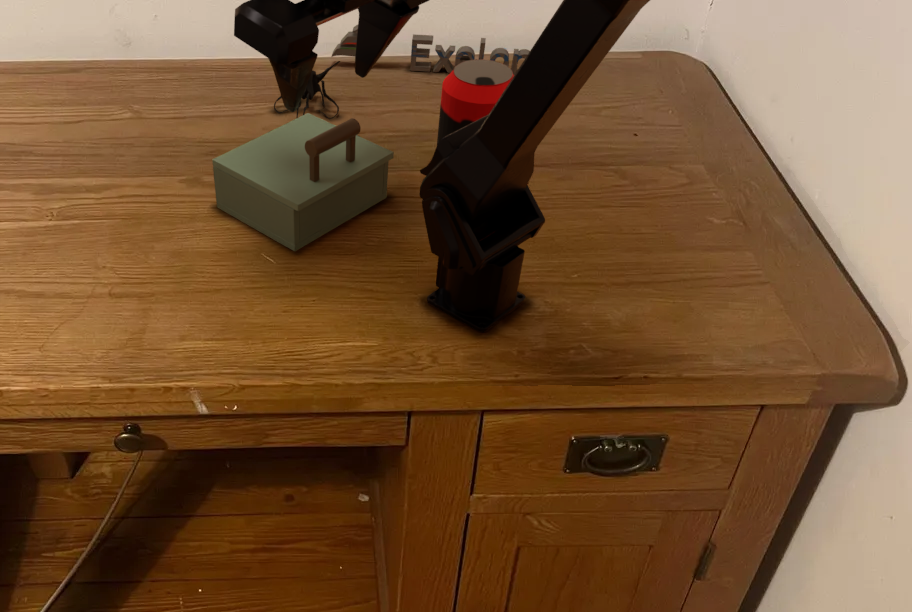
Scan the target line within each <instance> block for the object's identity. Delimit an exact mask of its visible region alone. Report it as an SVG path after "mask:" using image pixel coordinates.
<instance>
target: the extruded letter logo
mask: <svg viewBox="0 0 912 612" xmlns="http://www.w3.org/2000/svg"><path fill="white" fill-rule="evenodd" d="M401 31H402V29H401V30H400V32H401ZM357 32H358V24H356V25H355V26H353V27H352V31H348V32H347V33H346V34H345V35H344V36H343V37H342V38H341V40H340V43H338V44H337V45H336V46H335V48H334V49H333V51H332V53H331V56H330V57H331V58H333V57H337V56H338V57H339V56H342V57H343V56H344V57H354V58H355V53H356V43H357ZM486 41H487V38H486V37H481V38H480V44H479V51H478V60H480V59H481V60H485V59H484V58H485V51H486V50H485V49H486ZM433 43H434V35H433V34H431V35H430V34H428V35H426V34H414V33H413V34H412V38H411V51H410V67H409V71H412V72H428V73H430V72H431V68H432V62H431V61H417V59H419V58H421V59H429V58H430V53H431V48H424V47H418V45H427V46H432V45H433ZM434 51H435V53H436V54H437V56H438V57H439V59H438V61H436V62H435V64H434V65H433V69H432V72H433V73H439V72H440V71H441V69H442V68H443V67H444V69H445V70H446V72H447V73H448V74H450V73H451V72H452V71H453V70H454V68H455V67H456V66H457V65H458V64H460V63H462V62H465V61H469V60H476V53H475V50H474V49H473V48H472V47H471V46H469V45H463V46H460V47H459V48H458V49H457V50H456V45H449V47H448V48H447V49H446V50H445V49H444V47H443V45H442V44H435V49H434ZM530 51H531V50H529V49H527V48H522V49H519V48H513V54H512V63H511V66H510V53H509V51H508V49H506V48H504V47H497V48H494V49H493V50H492V51H491V53H490V55H489V60H492V61H496V60H497V59H498V58H502V59H503V63H502V64H504V65H506V66H508V67H509V66H510V67H509V68H510V69H511V70H512V72H513V75H515V73H516V72H517V70H518V64H519V61H520V60H522V59H524V60H525V58H526V57H527V55H528V54H529V52H530ZM454 53H455V59H454V65H453V63H452V62H451V60H450V58H451V57H452V55H454Z"/></svg>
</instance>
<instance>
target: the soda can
mask: <svg viewBox="0 0 912 612" xmlns="http://www.w3.org/2000/svg"><path fill="white" fill-rule="evenodd" d="M513 77H514V75H513V72H512V70H511V67H508V66H506V65H504V64H503V63H502V62H499V61H496V60H495V61H492V60H490V59H483V60H481V59H480V60H479V59H475V60H469V61H465V62H462V63H460V64H458V65H457V66H456V67H455V66H454V69H453V71H452V72H451V73H448V75H447V76H445V78H444V79H443V82H442V83H441V84H442V85H441V93H440V94H441V95H440V107H439V117H438V126H437V128H438V129H437V139H436V146H437V145H438V144H439V142H440V141H441V139H442V138H443V137H445V136H447V135H449V134H451V133H453V132H455V131H457V130H459V129H461V128H463V127H465V126H467V125H469V124H471V123H473V122H475V121H477V120H479V119H481V118H482V117H484V116H486V115H488V114H489V113H490V112H491V110H492V109H493V107H494V106H495V104H496V103H497V101H498V99H499V98H500V96H501V95H502V93H503V92H504V90H505V89H506V87H507V86H508V84H509V83H510V81H511V80H512V78H513Z"/></svg>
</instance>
